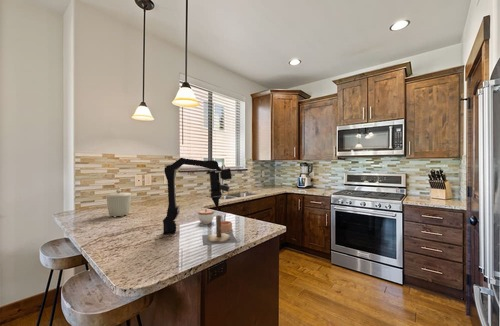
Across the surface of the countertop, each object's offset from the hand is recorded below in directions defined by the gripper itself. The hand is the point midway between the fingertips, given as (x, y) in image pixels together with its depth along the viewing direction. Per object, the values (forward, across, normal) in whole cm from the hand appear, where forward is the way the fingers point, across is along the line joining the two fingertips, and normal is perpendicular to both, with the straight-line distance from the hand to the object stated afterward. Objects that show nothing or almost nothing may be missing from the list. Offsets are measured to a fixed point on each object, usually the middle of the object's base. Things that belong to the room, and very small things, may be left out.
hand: (217, 206), depth 135 cm
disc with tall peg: (+14, -18, +1) cm, 23 cm away
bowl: (+14, -3, -3) cm, 15 cm away
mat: (+14, -18, +1) cm, 23 cm away
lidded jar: (+14, +17, +8) cm, 24 cm away
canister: (+9, +54, +76) cm, 94 cm away
